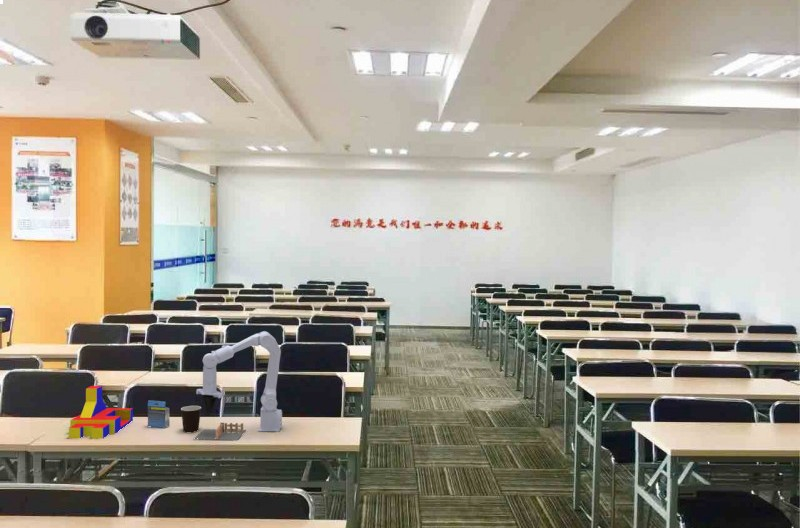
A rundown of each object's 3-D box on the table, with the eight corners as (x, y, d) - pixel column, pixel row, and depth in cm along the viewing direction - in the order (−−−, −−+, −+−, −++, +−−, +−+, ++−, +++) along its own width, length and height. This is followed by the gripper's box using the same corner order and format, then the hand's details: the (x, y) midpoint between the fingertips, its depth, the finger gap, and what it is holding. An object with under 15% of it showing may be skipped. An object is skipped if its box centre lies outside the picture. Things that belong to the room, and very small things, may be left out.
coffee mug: (196, 433, 254) (197, 411, 254) (177, 433, 254) (177, 410, 254) (206, 425, 266) (206, 404, 265) (187, 425, 266) (187, 403, 266)
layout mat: (246, 430, 259) (246, 429, 259) (237, 440, 245) (237, 439, 245) (204, 429, 259) (204, 429, 259) (192, 439, 245) (192, 439, 245)
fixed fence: (243, 432, 256) (243, 422, 256) (242, 434, 254) (242, 423, 254) (220, 432, 256) (220, 422, 256) (219, 433, 254) (219, 423, 254)
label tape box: (169, 426, 264) (170, 399, 264) (165, 428, 260) (165, 401, 260) (152, 424, 266) (152, 398, 265) (147, 427, 262) (147, 400, 261)
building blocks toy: (63, 439, 244) (63, 396, 244) (91, 422, 269) (91, 383, 269) (108, 439, 245) (108, 396, 245) (132, 422, 270) (133, 383, 270)
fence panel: (220, 432, 254) (220, 423, 254) (222, 432, 254) (222, 423, 254) (215, 438, 246) (215, 429, 246) (218, 438, 246) (218, 429, 246)
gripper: (190, 380, 253) (190, 411, 253) (214, 385, 245) (214, 416, 246) (203, 378, 259) (203, 408, 259) (226, 382, 251) (226, 412, 252)
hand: (209, 412), depth 253 cm, fingers closed
